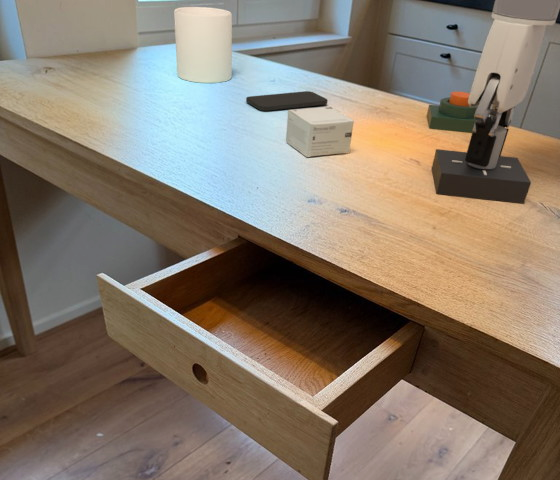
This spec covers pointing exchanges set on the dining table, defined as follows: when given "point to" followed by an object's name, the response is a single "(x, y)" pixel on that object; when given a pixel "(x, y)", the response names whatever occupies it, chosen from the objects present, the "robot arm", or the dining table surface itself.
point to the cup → (203, 44)
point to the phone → (286, 100)
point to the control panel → (479, 178)
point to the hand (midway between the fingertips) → (482, 158)
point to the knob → (494, 149)
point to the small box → (319, 131)
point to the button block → (451, 117)
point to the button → (459, 98)
